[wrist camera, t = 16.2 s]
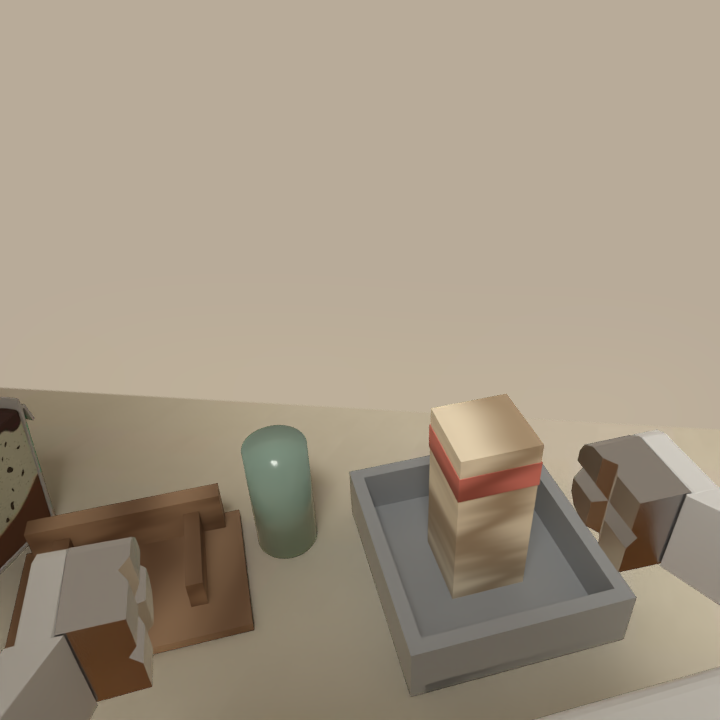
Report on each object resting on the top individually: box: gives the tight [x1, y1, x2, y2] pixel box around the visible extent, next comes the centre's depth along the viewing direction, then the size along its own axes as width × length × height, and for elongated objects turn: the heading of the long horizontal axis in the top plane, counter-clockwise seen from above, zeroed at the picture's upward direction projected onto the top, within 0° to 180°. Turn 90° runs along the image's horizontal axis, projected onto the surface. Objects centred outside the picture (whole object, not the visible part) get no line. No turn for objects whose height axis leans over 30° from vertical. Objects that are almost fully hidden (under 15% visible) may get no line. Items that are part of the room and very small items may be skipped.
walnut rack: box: [5, 483, 254, 654], centre depth 39 cm, size 14×9×4 cm, turn 104°
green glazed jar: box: [241, 425, 317, 559], centre depth 42 cm, size 4×4×8 cm
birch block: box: [428, 394, 544, 599], centre depth 37 cm, size 5×5×11 cm
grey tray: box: [349, 455, 637, 697], centre depth 40 cm, size 13×14×4 cm
